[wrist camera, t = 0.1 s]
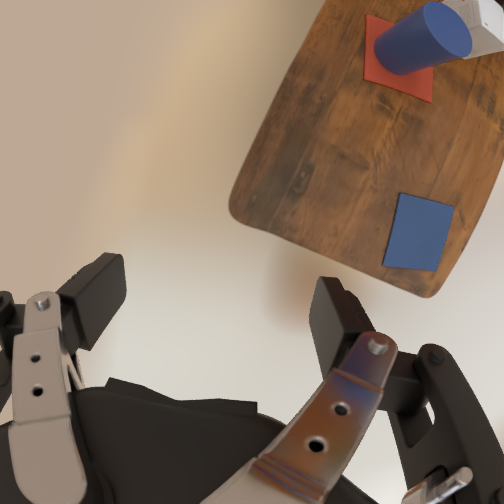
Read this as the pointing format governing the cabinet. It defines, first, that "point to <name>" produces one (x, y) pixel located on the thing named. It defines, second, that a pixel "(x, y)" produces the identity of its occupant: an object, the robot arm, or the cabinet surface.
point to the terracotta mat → (375, 72)
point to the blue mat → (418, 233)
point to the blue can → (423, 40)
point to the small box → (481, 24)
